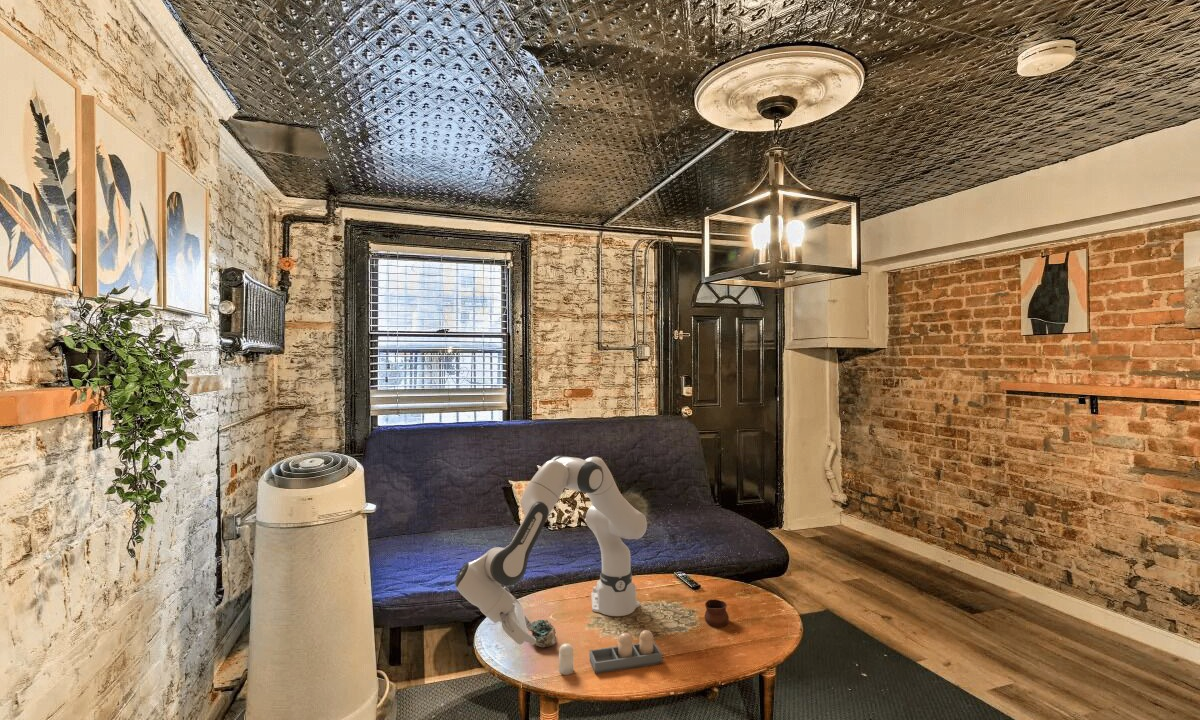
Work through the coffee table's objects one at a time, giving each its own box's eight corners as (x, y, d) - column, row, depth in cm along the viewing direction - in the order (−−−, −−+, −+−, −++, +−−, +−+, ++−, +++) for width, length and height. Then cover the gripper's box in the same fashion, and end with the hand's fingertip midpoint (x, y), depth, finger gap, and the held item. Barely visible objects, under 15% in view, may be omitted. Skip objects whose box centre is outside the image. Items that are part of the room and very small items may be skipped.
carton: (589, 660, 175) (589, 632, 175) (653, 650, 180) (653, 623, 180) (595, 673, 168) (594, 644, 167) (661, 663, 173) (661, 635, 173)
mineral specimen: (526, 632, 191) (526, 615, 188) (551, 625, 194) (551, 608, 191) (536, 661, 180) (536, 643, 178) (562, 653, 184) (563, 635, 181)
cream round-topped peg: (558, 667, 171) (557, 641, 171) (572, 665, 172) (571, 639, 172) (560, 675, 167) (560, 649, 167) (574, 673, 168) (574, 647, 168)
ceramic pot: (685, 628, 195) (684, 608, 195) (699, 607, 211) (699, 589, 211) (735, 640, 187) (735, 619, 187) (747, 617, 203) (747, 598, 203)
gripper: (509, 614, 155) (544, 643, 157) (505, 584, 175) (536, 611, 177) (494, 631, 154) (529, 661, 156) (490, 599, 174) (522, 626, 176)
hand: (532, 634), depth 167 cm, fingers open, 8 cm apart
